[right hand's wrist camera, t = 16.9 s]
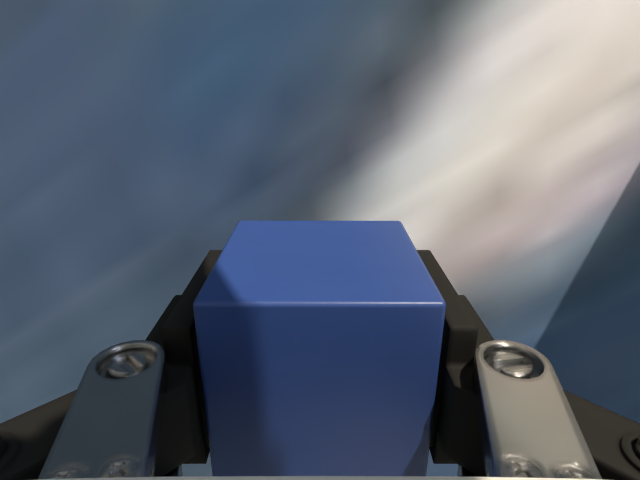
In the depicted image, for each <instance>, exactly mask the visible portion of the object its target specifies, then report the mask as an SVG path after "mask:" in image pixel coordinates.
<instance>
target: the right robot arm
mask: <svg viewBox="0 0 640 480" xmlns="http://www.w3.org/2000/svg"><path fill="white" fill-rule="evenodd" d="M222 251H223V250H210V251H209V253H208V254H207V256H206V257H205V259H204V261H203V262H202V264H201V265H200V267H199V269H198V270H197V272H196V273H195V275H194V276H193V278H192V280H191V281H190V283H189V284H188V286H187V288H186V289H185V291H184V292H183V294H182V295H176V296H175V297H174V298H173V299H172V301H171V302H170V304H169V305H168V307H167V308H166V310H165V311H164V313H163V314H162V316H161V317H160V319H159V320H158V322H157V323H156V325H155V326H154V328H153V329H152V331H151V332H150V334H149V335H148V337H147V338H146V340H133V341H128V342H123V343H119V344H117V345H114V346H111V347H109V348H107V349H105V350H103V351H102V352H100V353H99V354H98V355H96V356H95V357H94V358H93V359H92V360H91V362H90V363H89V364H88V366H87V368H86V371H85V373H84V375H83V377H82V380H81V382H80V384H79V387H78V389H77V390H75V391H73V392H71V393H68V394H66V395H64V396H62V397H59V398H57V399H55V400H53V401H50V402H48V403H46V404H44V405H41V406H39V407H37V408H35V409H32V410H30V411H28V412H26V413H23V414H21V415H19V416H17V417H14V418H12V419H10V420H8V421H5V422H3V423H1V424H0V480H640V424H639V423H637V422H634V421H632V420H630V419H628V418H625V417H623V416H621V415H619V414H616V413H614V412H612V411H610V410H607V409H605V408H603V407H601V406H598V405H596V404H594V403H592V402H589V401H587V400H585V399H583V398H580V397H578V396H576V395H574V394H571V393H569V392H567V391H565V390H563V389H562V387H561V384H560V382H559V380H558V377H557V375H556V373H555V371H554V368H553V366H552V364H551V363H550V362H549V360H548V359H547V358H546V357H545V356H544V355H542V354H541V353H540V352H538V351H537V350H535V349H533V348H531V347H529V346H526V345H523V344H521V343H517V342H512V341H507V340H494V339H493V337H492V336H491V334H490V333H489V331H488V330H487V328H486V327H485V325H484V324H483V322H482V321H481V319H480V318H479V316H478V315H477V313H476V312H475V310H474V308H473V307H472V305H471V304H470V302H469V301H468V299H467V298H466V297H465V296H464V295H458V294H457V293H456V291H455V289H454V288H453V286H452V285H451V283H450V282H449V280H448V278H447V277H446V275H445V274H444V272H443V270H442V269H441V267H440V266H439V264H438V262H437V261H436V259H435V258H434V256H433V255H432V253H431V251H430V250H417V252H418V254H419V256H420V257H421V259H422V261H423V263H424V265H425V267H426V268H427V270H428V272H429V274H430V276H431V277H432V279H433V281H434V283H435V285H436V286H437V288H438V290H439V292H440V294H441V295H442V297H443V299H444V301H445V303H446V310H445V319H444V327H443V336H442V344H441V352H440V361H439V369H438V378H437V386H436V395H435V403H434V412H433V420H432V428H431V437H430V445H429V449H430V452H431V456H432V459H433V462H434V464H459V466H458V474H457V475H458V477H438V476H202V477H182V475H183V474H182V466H181V464H206V462H207V458H208V455H209V452H210V448H209V439H208V430H207V422H206V413H205V405H204V396H203V387H202V379H201V370H200V362H199V353H198V345H197V336H196V327H195V319H194V310H193V303H194V301H195V299H196V297H197V295H198V293H199V292H200V290H201V288H202V286H203V284H204V283H205V281H206V279H207V277H208V276H209V274H210V272H211V270H212V268H213V267H214V265H215V263H216V261H217V259H218V258H219V256H220V254H221V252H222Z"/></svg>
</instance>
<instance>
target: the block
mask: <svg viewBox="0 0 640 480" xmlns="http://www.w3.org/2000/svg"><path fill="white" fill-rule="evenodd" d="M193 310H194V319H195V327H196V336H197V345H198V353H199V362H200V370H201V379H202V387H203V396H204V405H205V413H206V422H207V430H208V439H209V448H210V456H211V465H212V473H213V476H426V471H427V462H428V454H429V445H430V437H431V428H432V420H433V412H434V403H435V395H436V386H437V378H438V369H439V361H440V352H441V344H442V336H443V327H444V319H445V310H446V303H445V301H444V299H443V297H442V295H441V294H440V292H439V290H438V288H437V286H436V285H435V283H434V281H433V279H432V277H431V276H430V274H429V272H428V270H427V268H426V267H425V265H424V263H423V261H422V259H421V257H420V256H419V254H418V252H417V250H416V248H415V247H414V245H413V243H412V241H411V239H410V238H409V236H408V234H407V232H406V230H405V229H404V227H403V225H402V223H401V222H400V221H239V222H238V224H237V226H236V227H235V229H234V231H233V233H232V234H231V236H230V238H229V240H228V242H227V243H226V245H225V247H224V249H223V251H222V252H221V254H220V256H219V258H218V259H217V261H216V263H215V265H214V267H213V268H212V270H211V272H210V274H209V276H208V277H207V279H206V281H205V283H204V284H203V286H202V288H201V290H200V292H199V293H198V295H197V297H196V299H195V301H194V303H193Z"/></svg>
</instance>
